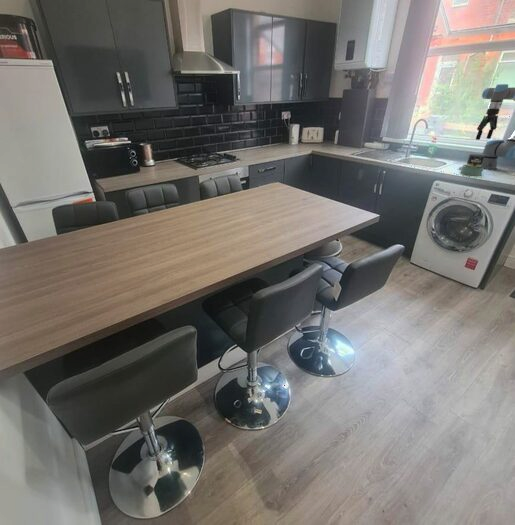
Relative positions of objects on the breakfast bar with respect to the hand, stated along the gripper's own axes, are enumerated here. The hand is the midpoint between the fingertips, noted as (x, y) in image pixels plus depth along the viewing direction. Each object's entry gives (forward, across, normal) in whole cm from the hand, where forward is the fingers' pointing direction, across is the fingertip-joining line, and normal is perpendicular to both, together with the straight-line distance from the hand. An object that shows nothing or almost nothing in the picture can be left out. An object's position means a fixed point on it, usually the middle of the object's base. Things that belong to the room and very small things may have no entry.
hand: (482, 139), depth 228 cm
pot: (+27, 0, 0) cm, 27 cm away
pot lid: (+26, +14, +10) cm, 31 cm away
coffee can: (+26, 0, 0) cm, 26 cm away
